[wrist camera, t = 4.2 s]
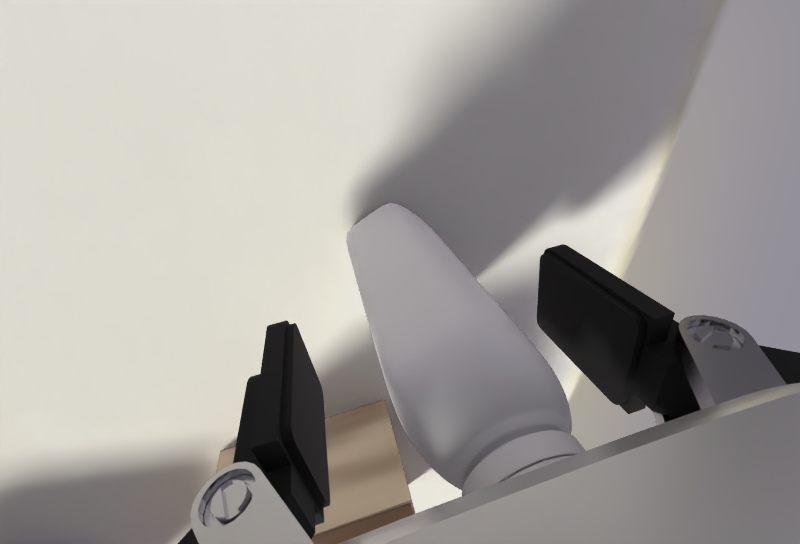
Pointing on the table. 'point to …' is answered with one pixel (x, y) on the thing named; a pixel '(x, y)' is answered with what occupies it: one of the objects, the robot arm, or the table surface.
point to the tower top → (363, 526)
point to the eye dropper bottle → (455, 358)
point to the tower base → (358, 466)
